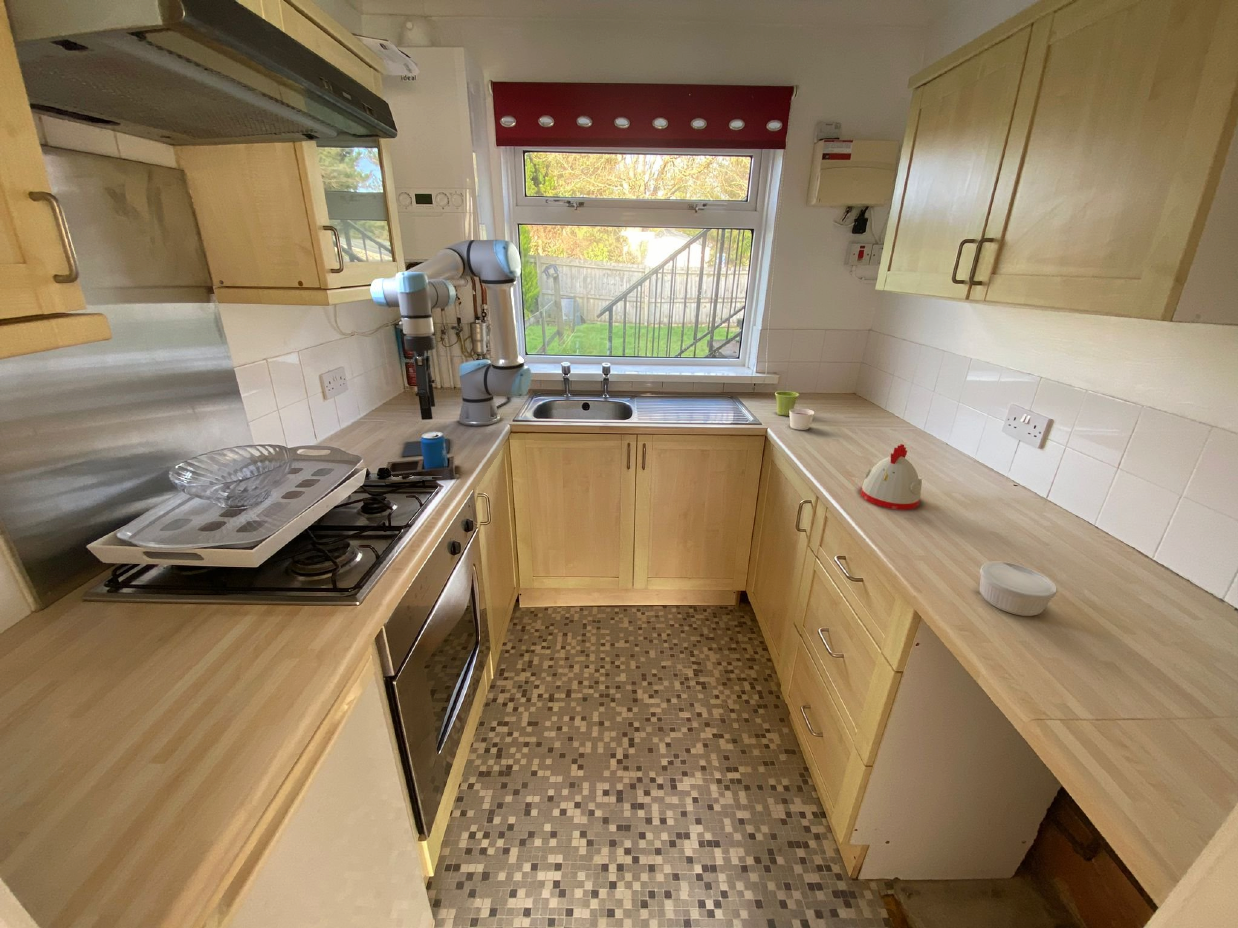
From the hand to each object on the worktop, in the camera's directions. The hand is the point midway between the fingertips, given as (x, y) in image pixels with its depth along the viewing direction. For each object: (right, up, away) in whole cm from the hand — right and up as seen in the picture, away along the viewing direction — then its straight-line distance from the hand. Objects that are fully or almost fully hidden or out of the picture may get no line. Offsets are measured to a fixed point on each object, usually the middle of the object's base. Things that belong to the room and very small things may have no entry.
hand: (428, 412), depth 141 cm
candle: (+122, -1, +53) cm, 133 cm away
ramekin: (+126, -40, -47) cm, 140 cm away
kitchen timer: (+125, -24, -6) cm, 128 cm away
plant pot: (+122, +6, +70) cm, 141 cm away
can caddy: (-4, -18, +6) cm, 19 cm away
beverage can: (0, -17, +7) cm, 19 cm away
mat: (-11, -9, +27) cm, 31 cm away
